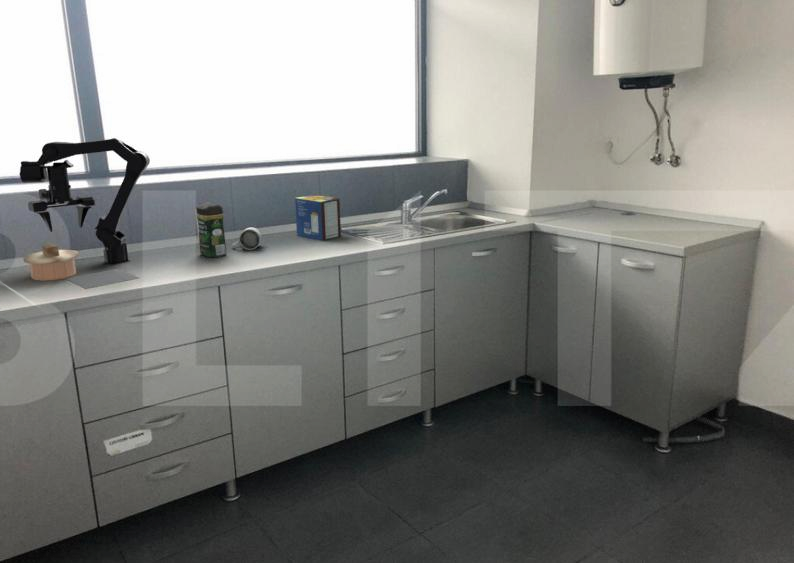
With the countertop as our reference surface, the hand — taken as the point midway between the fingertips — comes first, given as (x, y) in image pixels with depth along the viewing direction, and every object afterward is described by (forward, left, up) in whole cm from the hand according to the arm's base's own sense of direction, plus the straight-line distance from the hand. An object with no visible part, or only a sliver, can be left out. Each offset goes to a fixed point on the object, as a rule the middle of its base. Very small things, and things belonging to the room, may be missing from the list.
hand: (66, 229), depth 207 cm
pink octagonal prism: (+9, +11, -12) cm, 19 cm away
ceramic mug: (-55, +21, -12) cm, 60 cm away
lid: (+9, +11, -6) cm, 15 cm away
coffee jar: (-40, +22, -12) cm, 47 cm away
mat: (0, +26, -12) cm, 29 cm away
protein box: (-86, +24, -12) cm, 90 cm away
